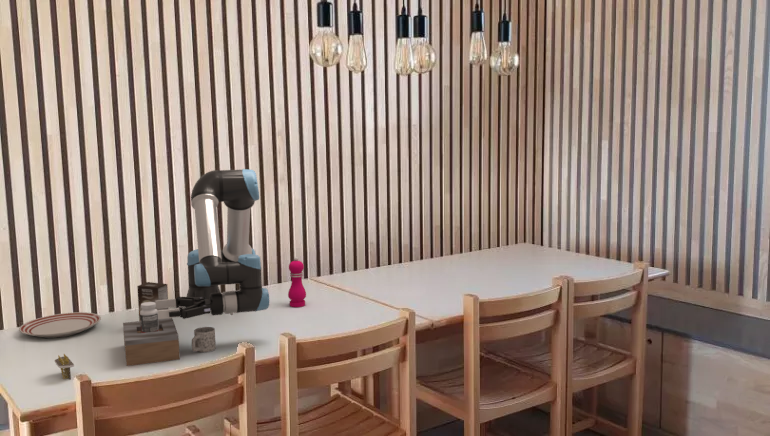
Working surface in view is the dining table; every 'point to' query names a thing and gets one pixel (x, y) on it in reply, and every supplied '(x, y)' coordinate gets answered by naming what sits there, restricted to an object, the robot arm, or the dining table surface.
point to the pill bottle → (149, 317)
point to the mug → (204, 339)
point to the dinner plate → (60, 324)
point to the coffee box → (152, 293)
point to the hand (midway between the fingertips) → (156, 309)
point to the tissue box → (151, 343)
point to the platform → (64, 365)
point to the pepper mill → (296, 284)
